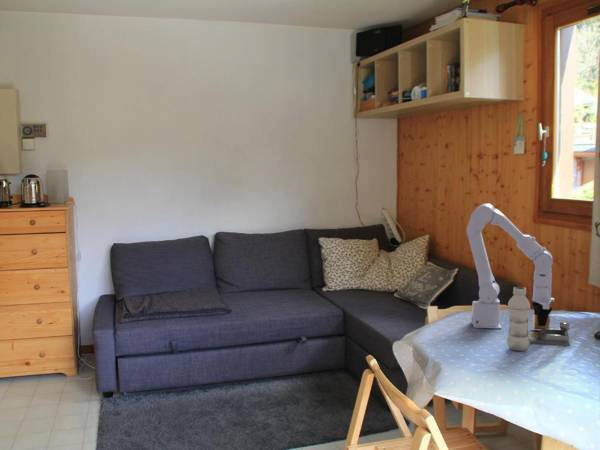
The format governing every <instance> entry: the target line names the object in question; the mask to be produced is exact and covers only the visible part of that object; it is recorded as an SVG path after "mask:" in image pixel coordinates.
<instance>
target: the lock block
mask: <svg viewBox="0 0 600 450" xmlns="http://www.w3.org/2000/svg"><path fill="white" fill-rule="evenodd" d="M550 320H551V316H550V315H549V316H548V319H547V323H546V326H539V324H538V317H537V313H535V312H534V311H533V312H532V323H531V324H532V328H533V329H534V330H540V331H541V328H550V323H551V321H550Z"/></svg>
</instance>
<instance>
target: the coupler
mask: <svg viewBox="0 0 600 450" xmlns="http://www.w3.org/2000/svg"><path fill="white" fill-rule="evenodd" d="M569 331H570V322H568V321H560V322H559V328H550V327H549V328H541V330H540V331H528V336H529V341H530V344H536V345H537V344H539V345H541V344H542V345H559V346H561V345H563V346H570V345H571V343H570V336H569Z"/></svg>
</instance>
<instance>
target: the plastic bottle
mask: <svg viewBox="0 0 600 450" xmlns="http://www.w3.org/2000/svg"><path fill="white" fill-rule="evenodd" d="M512 294H513V295H512V297H510V299H509V300H508V303H507V308H508V317H509V322H508V323H509V328H508V334H507V337H506V338H507V339H506V343H507V346H508V348H509V349H510V350H513V351H517V352H518V351H519V352H521V351H523V352H524V351H527V350H528V349H529V347H530V344H531V343H530V341H529V336H528V332H529V315H530V311H531V302H530V301H529V299H528V298H527V297H526V295H527V288H526V287H523V286H514V287H513V290H512Z"/></svg>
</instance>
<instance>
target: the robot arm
mask: <svg viewBox="0 0 600 450" xmlns="http://www.w3.org/2000/svg"><path fill="white" fill-rule="evenodd" d="M490 221H491V222H490ZM489 222H490V225H493V226H498V227H500V228H501V229H502V230H504V231H505V232H506V233H507V234H508V235H509V236H510V237H511V238H513V239H514V240H515V241H516V247H517V248H518V249H519V250H520V251H521V252H522V253H523V254H524V255H525V256H527V258H528V259H529V260H531V261H533V264H534V272H533V285H532V286H533V287H532V290H533V291H532V292H533V293H532V301H530V304H531V305H532V308H533V310H534V311H533V312H534V313H537V317H538V324H539V326H546V323H547V319H548V316H550V314H551V312H552V311H553V306H550V305H551V303H552V302H555V298H554V297H552V279H553V278H552V277H553V273H552V271H553V269H552V266H553V264H554V262H553V258H554V257H553V256H552V253H551V252H550V251H549V250H547V248H546V247H545V246H542V245H540V244H539V243H538V242H537V241H536V239H537V238H536V237H535V236H531V235H530V234H524V233H523V232H522V231H520V229H518V227H517V226H516V225H515V224H514V223H513V222H512V221H511V220H510V219H508V217H507V216H506V215H505V214H503V213H502V212H501V211H500V209H498V208H495V207H494V205H492V204H491V203H482V204H480V205H479V206H477V207H476V208H475V209H474V210H473V211H472V213H471V215H470V218H469V221H468V224H467V225H466V235H467V238H468V242H469V246H470V249H471V254H472V257H473V261H474V265H475V270H476V273H477V276H478V286H479V290H478V297H479V298H478V300H473V301H472V306H471V311H472V312H471V323H472V326H473V328H477V329H500V330H501V329H502V325H501V324H500V305H501V304H500V302H501V301H500V299H499V298H498V295H499V294H500V292H501V288H500V285H499V284H498V283H497V282H496V280H495V276H494V275H493V272H492V268H491V264H490V261H489V257H488V254H487V249H486V245H485V240H484V238H483V233H482V231H483V229H484V227H485V226H486V225H487V224H488V223H489Z"/></svg>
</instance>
